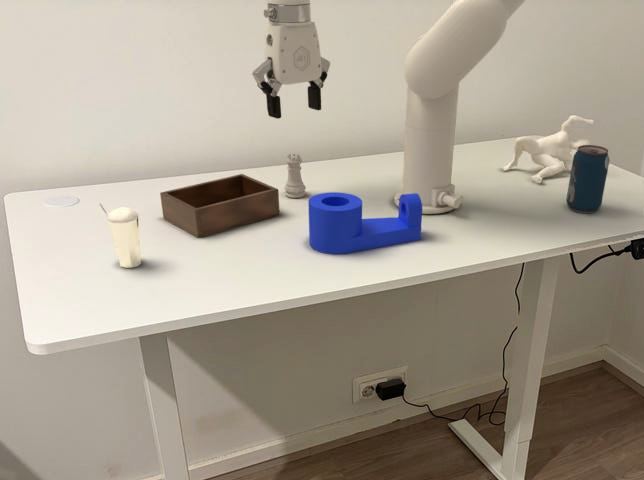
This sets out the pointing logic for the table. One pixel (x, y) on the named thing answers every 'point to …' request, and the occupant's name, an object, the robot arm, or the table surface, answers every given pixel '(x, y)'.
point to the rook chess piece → (294, 178)
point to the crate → (219, 204)
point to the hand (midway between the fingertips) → (295, 113)
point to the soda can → (587, 179)
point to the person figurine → (550, 149)
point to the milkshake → (125, 235)
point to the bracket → (359, 223)
